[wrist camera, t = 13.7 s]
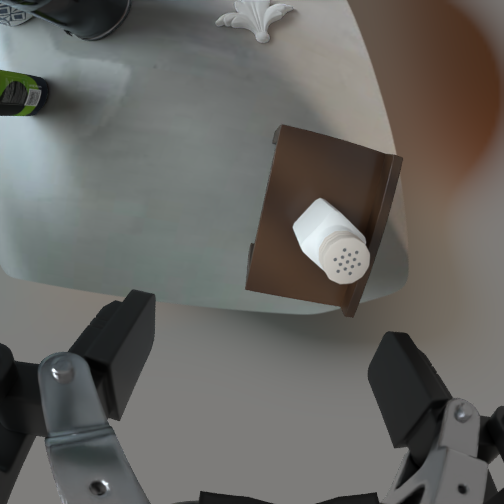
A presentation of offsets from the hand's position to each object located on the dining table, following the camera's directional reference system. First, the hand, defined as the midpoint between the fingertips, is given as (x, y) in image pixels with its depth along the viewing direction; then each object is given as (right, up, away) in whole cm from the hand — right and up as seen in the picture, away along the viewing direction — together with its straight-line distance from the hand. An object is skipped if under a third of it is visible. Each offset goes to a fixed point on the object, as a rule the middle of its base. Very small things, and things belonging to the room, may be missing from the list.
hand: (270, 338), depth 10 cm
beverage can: (-33, +26, +22) cm, 48 cm away
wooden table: (+6, +9, +27) cm, 29 cm away
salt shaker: (+6, +5, +18) cm, 20 cm away
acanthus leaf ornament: (0, +32, +19) cm, 38 cm away
